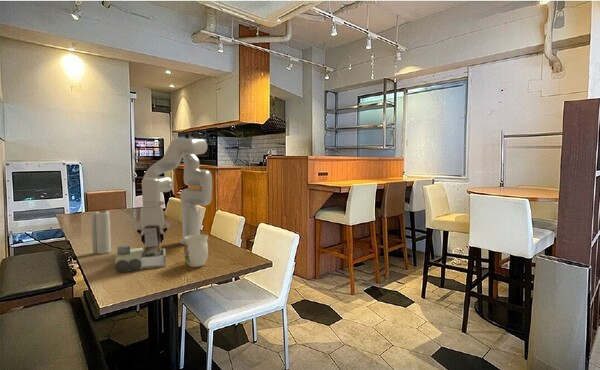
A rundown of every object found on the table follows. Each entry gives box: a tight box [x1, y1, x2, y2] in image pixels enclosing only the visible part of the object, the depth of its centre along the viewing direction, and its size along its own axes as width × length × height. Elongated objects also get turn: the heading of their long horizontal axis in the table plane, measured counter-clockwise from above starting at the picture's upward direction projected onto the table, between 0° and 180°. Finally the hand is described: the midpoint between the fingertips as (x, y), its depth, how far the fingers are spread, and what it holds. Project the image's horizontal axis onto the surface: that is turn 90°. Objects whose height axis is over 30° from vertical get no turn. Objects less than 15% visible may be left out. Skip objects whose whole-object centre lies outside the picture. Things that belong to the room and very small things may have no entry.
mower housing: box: [114, 244, 144, 274], centre depth 152 cm, size 10×18×9 cm, turn 22°
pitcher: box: [183, 233, 209, 268], centre depth 155 cm, size 11×18×14 cm, turn 36°
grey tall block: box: [90, 210, 112, 255], centre depth 172 cm, size 7×6×21 cm
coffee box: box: [144, 227, 162, 257], centre depth 155 cm, size 9×6×16 cm
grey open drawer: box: [141, 247, 167, 270], centre depth 156 cm, size 10×13×5 cm
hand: (152, 242), depth 155 cm, fingers open, 6 cm apart
